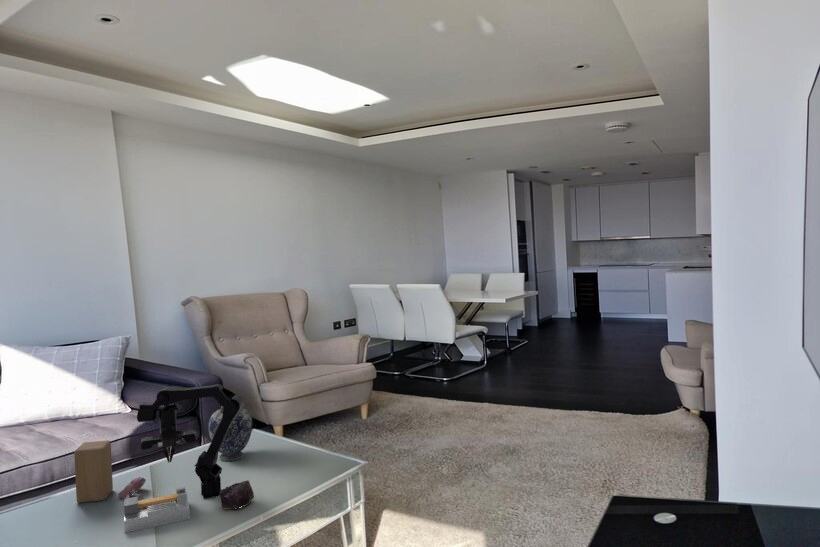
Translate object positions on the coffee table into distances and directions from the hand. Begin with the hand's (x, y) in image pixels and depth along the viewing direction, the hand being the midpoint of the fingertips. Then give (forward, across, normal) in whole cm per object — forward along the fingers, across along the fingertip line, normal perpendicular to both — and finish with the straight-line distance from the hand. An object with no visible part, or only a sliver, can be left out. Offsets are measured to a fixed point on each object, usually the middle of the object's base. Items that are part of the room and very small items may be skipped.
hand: (169, 462), depth 210 cm
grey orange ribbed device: (+13, -5, -16) cm, 21 cm away
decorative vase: (+13, +26, +30) cm, 42 cm away
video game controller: (+13, -13, +9) cm, 21 cm away
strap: (+9, -6, -14) cm, 17 cm away
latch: (+9, -13, -16) cm, 22 cm away
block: (+13, -26, +13) cm, 32 cm away
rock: (+13, +21, -21) cm, 33 cm away
